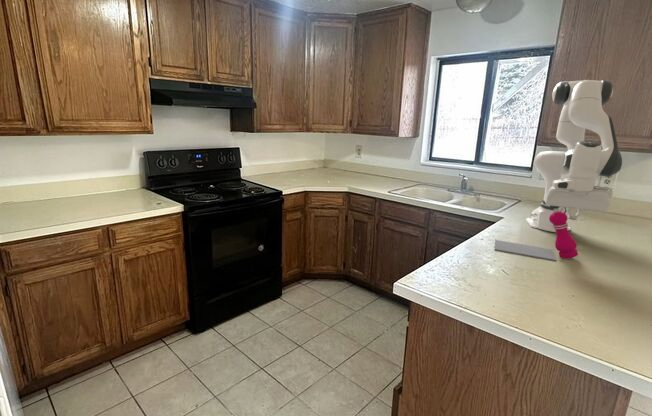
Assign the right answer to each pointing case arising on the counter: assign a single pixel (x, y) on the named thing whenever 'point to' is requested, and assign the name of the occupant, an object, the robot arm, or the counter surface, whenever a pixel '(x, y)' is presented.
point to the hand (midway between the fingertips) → (572, 219)
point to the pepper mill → (563, 235)
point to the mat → (525, 250)
